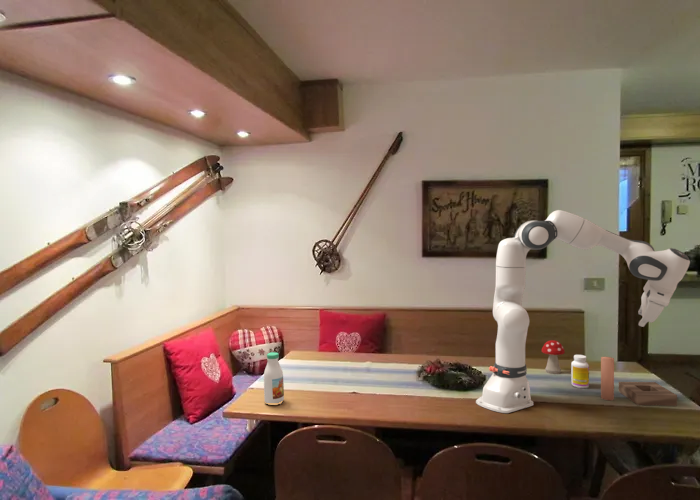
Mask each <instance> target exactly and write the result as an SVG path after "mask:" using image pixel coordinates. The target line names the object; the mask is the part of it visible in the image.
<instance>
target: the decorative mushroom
mask: <svg viewBox="0 0 700 500" xmlns="http://www.w3.org/2000/svg"><path fill="white" fill-rule="evenodd" d="M565 352H566V351H565V348H564V346H563V345H562V343H561V342H559V341H558V340H555V339H554V340H553V339H551V340H547V341H546V342H545V343H543V346H542V347H541V353H543V354H545V355H548V358H547V363H546V367H545V368H544V369H545V372H546V373H547V374H551V375H558V374H561V372H562V369H561V366H560V362H559V357H558V356H561V355H564V354H566V353H565Z"/></svg>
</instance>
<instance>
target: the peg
mask: <svg viewBox="0 0 700 500" xmlns="http://www.w3.org/2000/svg"><path fill="white" fill-rule="evenodd" d="M600 399H602V400H604V401H610V402H611V401H614V400H615V358H614V357H611V356H601V357H600Z"/></svg>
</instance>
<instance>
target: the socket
mask: <svg viewBox="0 0 700 500" xmlns="http://www.w3.org/2000/svg"><path fill="white" fill-rule="evenodd" d="M618 392H619V393H620V394H621V395H623V396H624V397H626V398H627V399H628V400H630V401H631V402H632V403H633V404H635V405H637V406H673V407H674V406H676V407H677V406H678V395H677V394H676V393H674V392H672V391H671V390H669V389H667V388H666V387H664V386H662V385H661V384H659V383H657V382H656V381H618Z"/></svg>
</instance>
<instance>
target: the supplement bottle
mask: <svg viewBox="0 0 700 500" xmlns="http://www.w3.org/2000/svg"><path fill="white" fill-rule="evenodd" d="M570 368H571V370H570V371H571V372H570V377H571V379H570V380H571V382H570V383H571V385H572V386H573V388H574V387H575V388H578V389H587V388H589V387H590V369H589V368H590V365H589V363H588V362H587V356H586V355H583V354H574V355H573V361H571V365H570Z"/></svg>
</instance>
